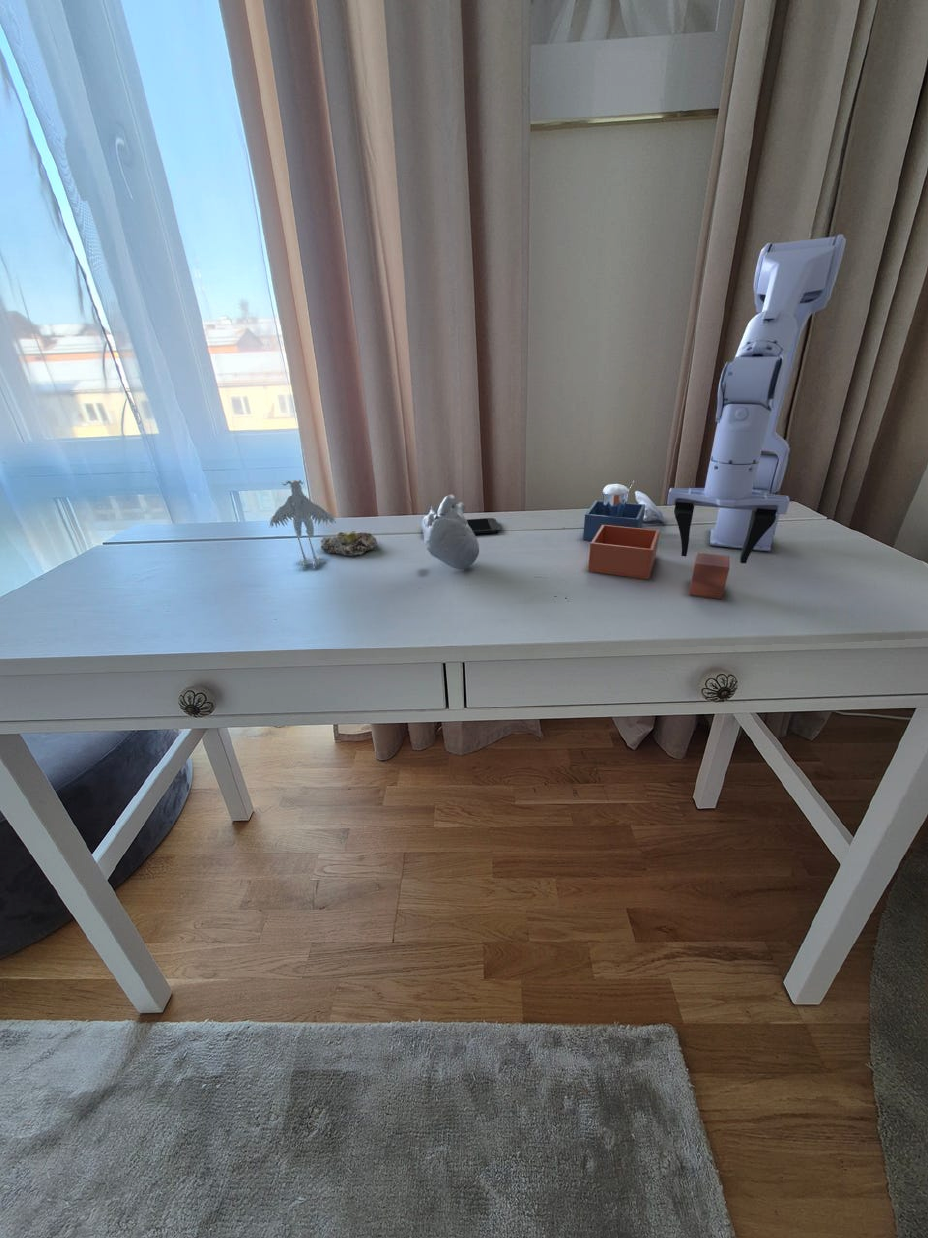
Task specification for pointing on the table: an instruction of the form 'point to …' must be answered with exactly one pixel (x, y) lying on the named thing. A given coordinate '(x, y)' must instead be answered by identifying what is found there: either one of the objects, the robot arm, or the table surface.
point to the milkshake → (615, 500)
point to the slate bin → (611, 518)
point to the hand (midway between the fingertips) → (713, 557)
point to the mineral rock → (349, 543)
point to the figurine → (301, 515)
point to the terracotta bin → (623, 551)
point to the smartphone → (483, 525)
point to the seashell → (649, 507)
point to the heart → (450, 534)
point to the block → (709, 575)
